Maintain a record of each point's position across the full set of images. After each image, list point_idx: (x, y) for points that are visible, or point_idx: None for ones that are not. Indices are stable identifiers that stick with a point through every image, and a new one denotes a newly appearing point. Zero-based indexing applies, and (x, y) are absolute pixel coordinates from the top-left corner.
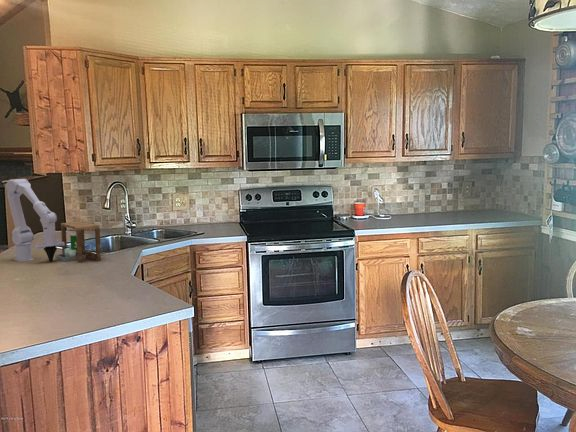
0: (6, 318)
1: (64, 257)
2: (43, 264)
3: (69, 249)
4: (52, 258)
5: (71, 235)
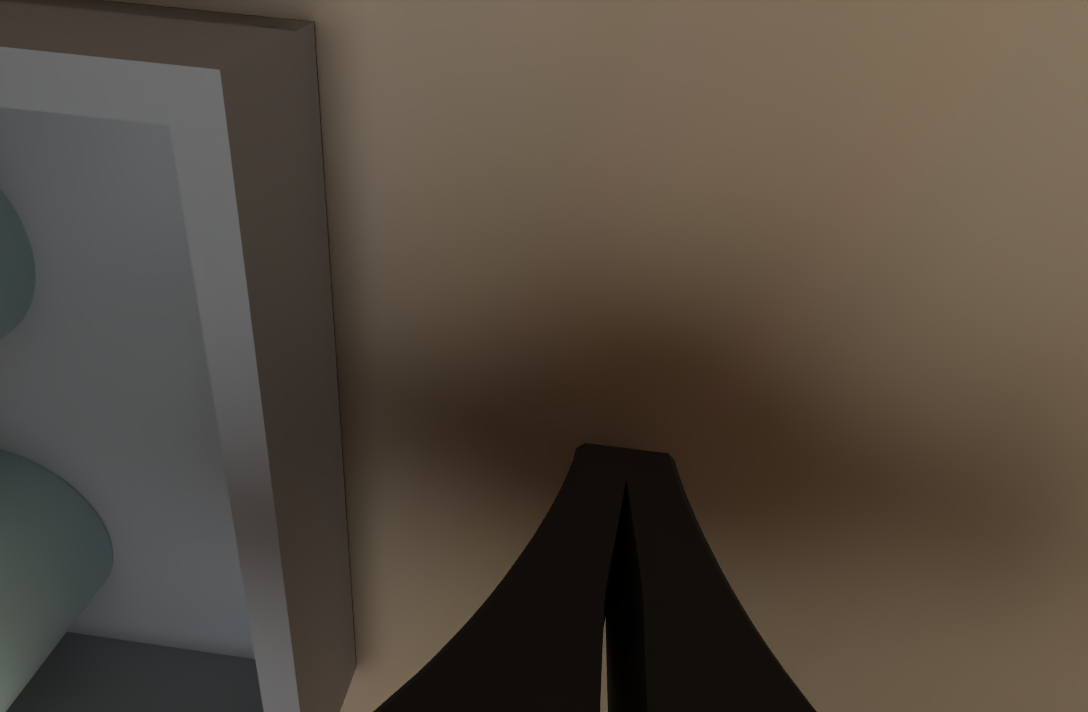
0: None
1: (105, 628)
2: (959, 384)
3: None
4: (594, 487)
5: None
